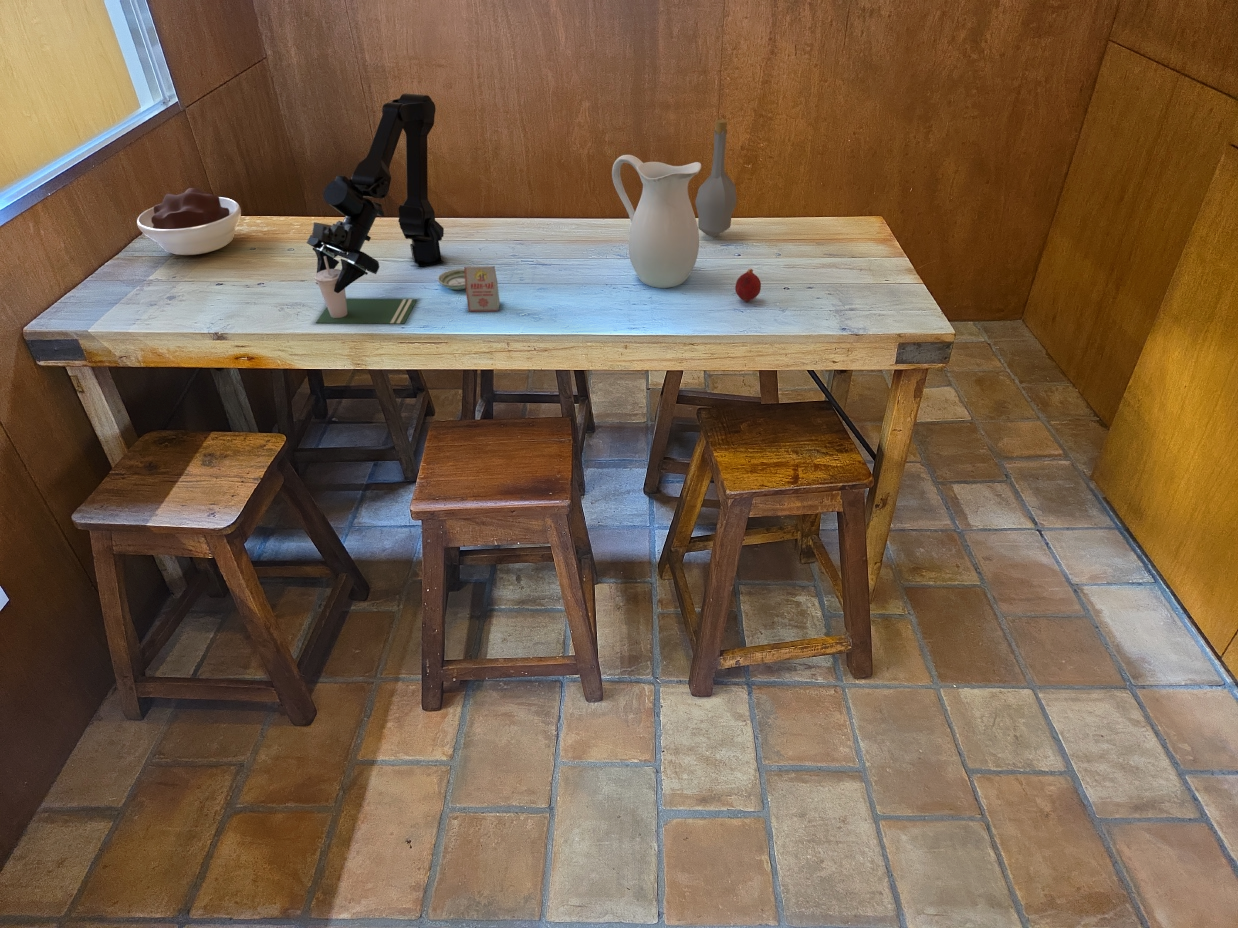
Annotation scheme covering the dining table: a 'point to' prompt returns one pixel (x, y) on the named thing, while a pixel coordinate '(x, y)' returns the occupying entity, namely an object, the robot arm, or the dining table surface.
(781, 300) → the dining table surface
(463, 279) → the saucer
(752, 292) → the onion
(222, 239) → the bowl of brown food
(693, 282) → the dining table surface
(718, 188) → the bottle
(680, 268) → the pitcher
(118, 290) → the dining table surface
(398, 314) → the cloth
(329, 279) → the smoothie
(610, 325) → the dining table surface
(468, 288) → the tan food box
